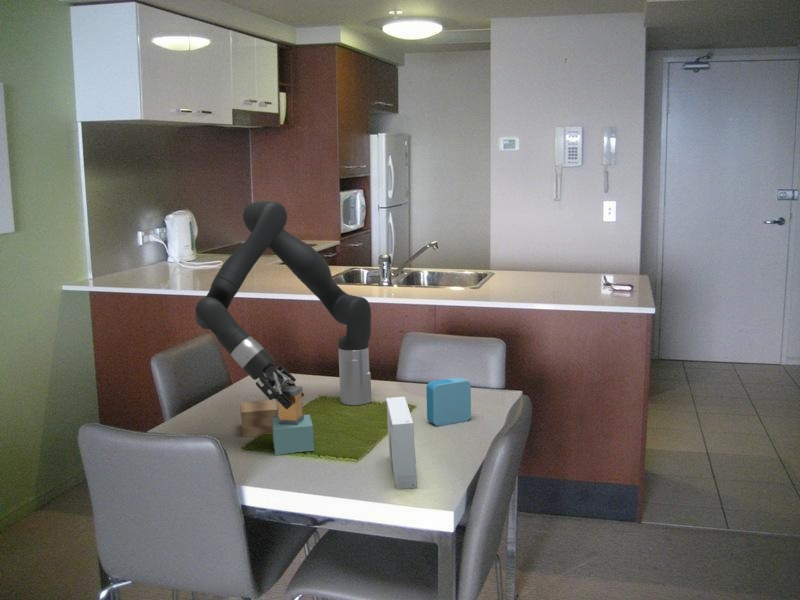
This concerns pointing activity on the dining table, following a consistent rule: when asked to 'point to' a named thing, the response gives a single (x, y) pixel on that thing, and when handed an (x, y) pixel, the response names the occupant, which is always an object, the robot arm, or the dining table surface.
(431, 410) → the blue rounded flat block
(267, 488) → the dining table surface
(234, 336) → the robot arm
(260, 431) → the stand
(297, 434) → the stand
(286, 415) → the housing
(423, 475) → the dining table surface
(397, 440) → the skincare box
